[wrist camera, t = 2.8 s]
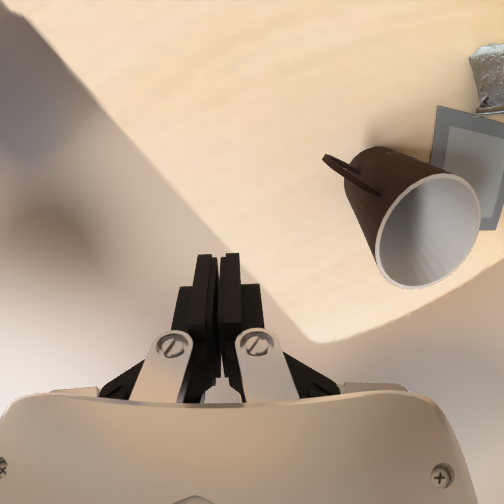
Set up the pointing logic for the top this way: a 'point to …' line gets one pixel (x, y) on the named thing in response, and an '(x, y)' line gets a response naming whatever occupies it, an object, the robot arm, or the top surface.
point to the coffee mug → (410, 215)
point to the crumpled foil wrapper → (489, 79)
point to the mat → (472, 157)
